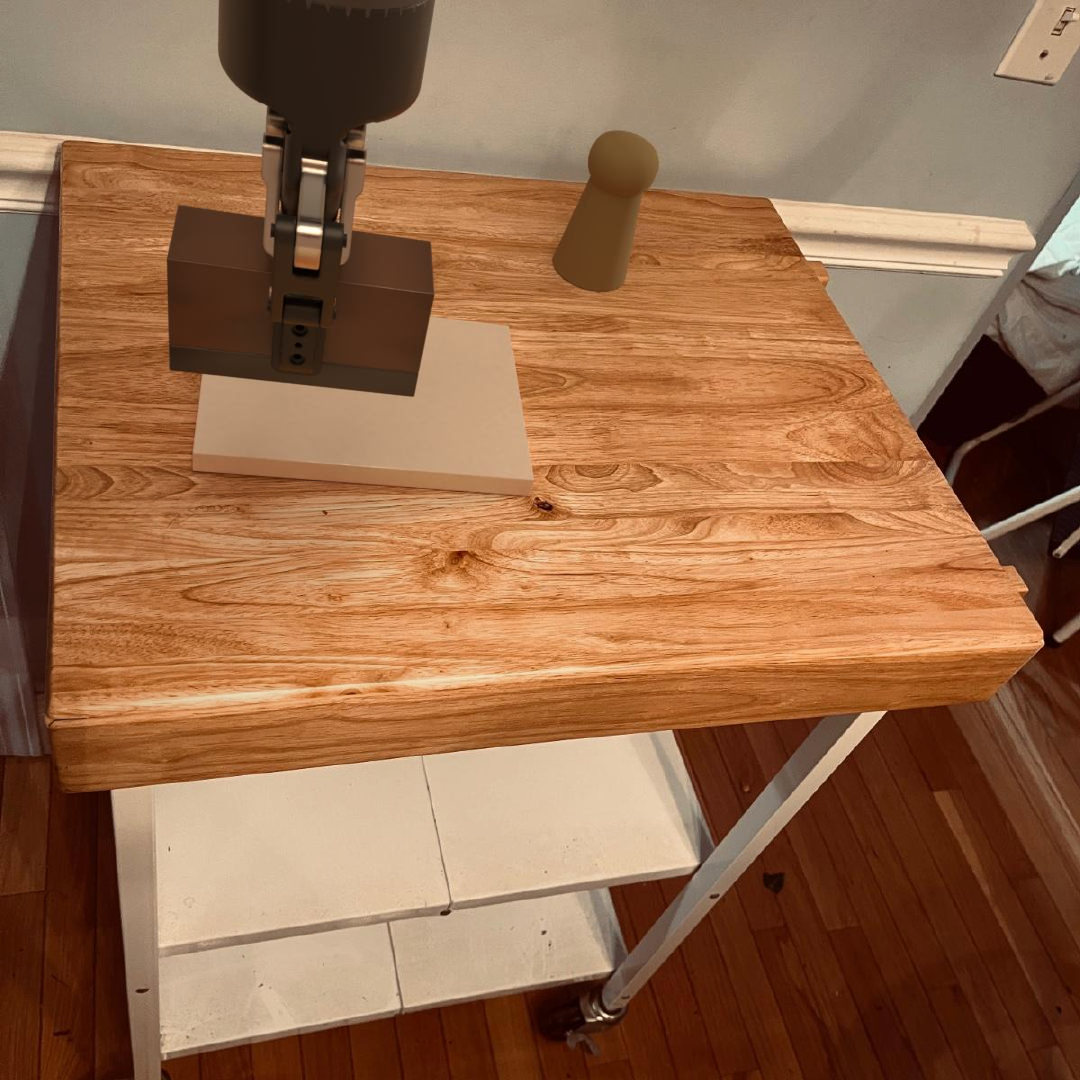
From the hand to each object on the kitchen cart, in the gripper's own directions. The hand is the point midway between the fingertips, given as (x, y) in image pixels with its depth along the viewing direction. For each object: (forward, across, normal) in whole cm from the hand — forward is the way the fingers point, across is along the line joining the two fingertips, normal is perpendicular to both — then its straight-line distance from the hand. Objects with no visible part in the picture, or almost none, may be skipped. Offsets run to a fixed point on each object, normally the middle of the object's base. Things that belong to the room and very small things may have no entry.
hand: (298, 334), depth 49 cm
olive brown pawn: (+15, +30, -22) cm, 40 cm away
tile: (+14, +12, -5) cm, 19 cm away
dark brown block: (+1, 0, 0) cm, 1 cm away
